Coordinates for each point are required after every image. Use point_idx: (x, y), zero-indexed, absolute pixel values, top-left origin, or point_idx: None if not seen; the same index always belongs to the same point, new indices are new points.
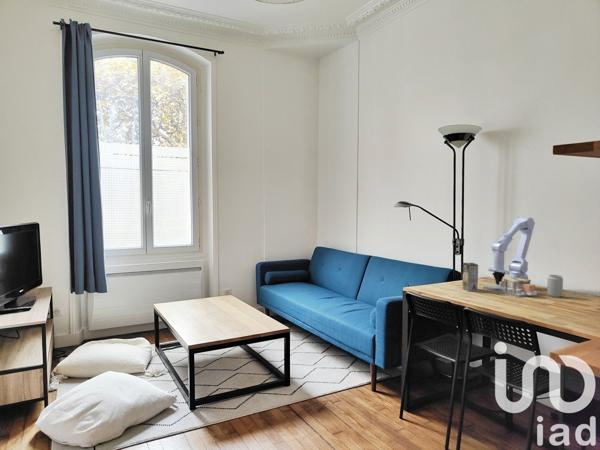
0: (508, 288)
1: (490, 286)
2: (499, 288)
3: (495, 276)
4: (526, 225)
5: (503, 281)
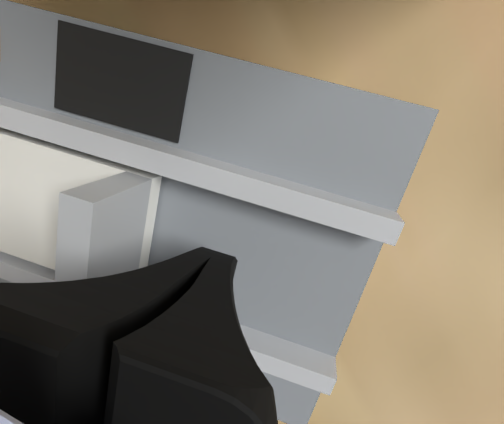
0: (7, 166)
1: (318, 191)
2: (132, 137)
3: (173, 316)
4: None
5: None
